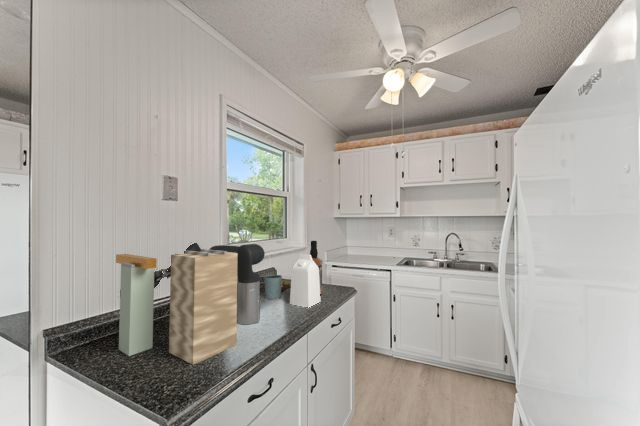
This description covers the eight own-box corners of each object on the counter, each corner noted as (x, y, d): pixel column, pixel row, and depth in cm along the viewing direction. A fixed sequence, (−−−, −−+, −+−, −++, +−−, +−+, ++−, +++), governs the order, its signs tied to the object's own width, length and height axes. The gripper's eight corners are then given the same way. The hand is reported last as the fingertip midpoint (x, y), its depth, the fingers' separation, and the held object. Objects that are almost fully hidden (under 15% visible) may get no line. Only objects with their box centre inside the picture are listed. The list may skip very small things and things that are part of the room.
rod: (115, 262, 99) (116, 254, 99) (125, 261, 102) (125, 253, 102) (146, 268, 86) (146, 259, 86) (156, 267, 88) (156, 258, 88)
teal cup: (280, 299, 150) (280, 278, 150) (262, 299, 150) (262, 278, 151) (283, 295, 160) (283, 274, 161) (266, 294, 160) (266, 274, 161)
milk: (320, 302, 145) (320, 254, 146) (308, 308, 135) (308, 256, 136) (302, 299, 151) (302, 252, 152) (289, 304, 142) (289, 254, 143)
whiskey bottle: (320, 296, 157) (320, 241, 158) (303, 295, 159) (303, 241, 160) (323, 292, 167) (323, 240, 168) (307, 291, 169) (308, 240, 170)
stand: (168, 352, 89) (171, 251, 90) (212, 335, 102) (213, 248, 103) (193, 364, 81) (195, 254, 82) (236, 345, 94) (237, 250, 96)
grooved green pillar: (118, 349, 91) (121, 262, 92) (141, 342, 97) (143, 260, 98) (128, 356, 86) (131, 265, 87) (152, 347, 92) (154, 262, 93)
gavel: (284, 290, 160) (268, 289, 162) (284, 298, 160) (268, 296, 162) (296, 280, 180) (282, 279, 183) (296, 287, 180) (282, 286, 183)
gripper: (165, 287, 120) (183, 273, 113) (128, 295, 109) (146, 280, 101) (161, 271, 123) (178, 257, 115) (125, 277, 111) (141, 261, 103)
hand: (163, 268), depth 108 cm, fingers open, 8 cm apart
